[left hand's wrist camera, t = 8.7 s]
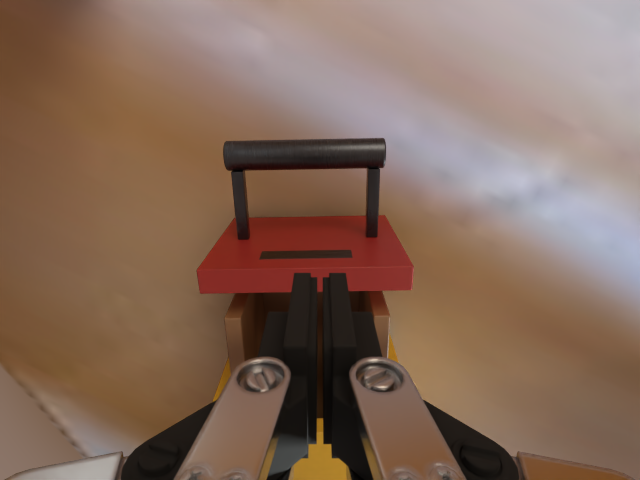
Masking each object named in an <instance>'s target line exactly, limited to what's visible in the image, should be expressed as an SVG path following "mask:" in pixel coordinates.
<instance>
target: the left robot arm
mask: <svg viewBox="0 0 640 480" xmlns="http://www.w3.org/2000/svg"><path fill="white" fill-rule="evenodd" d="M317 359H318V334H317V277H311V273H294V277H293V284H292V291H291V297H290V304H289V311H288V312H268V315H267V320H266V324H265V328H264V332H263V336H262V340H261V344H260V348H259V353H258V357H256V358H251V359H249V360H247V361H244V362H242V363H241V364H240V365H238V366H237V367H236V368H235V369H234V371H233V372H232V374H231V375H230V377H229V379H228V381H227V383H226V385H225V386H224V388H223V390H222V392H221V394H220V396H219V397H218V399H217V400H215V401H214V402H212V403H210V404H209V405H207V406H205V407H204V408H202V409H200V410H198V411H197V412H195V413H193V414H192V415H190V416H188V417H187V418H185V419H183V420H181V421H180V422H178V423H176V424H175V425H173V426H171V427H170V428H168V429H166V430H164V431H163V432H161V433H159V434H158V435H156V436H154V437H153V438H151V439H149V440H147V441H146V442H144V443H143V444H142V445H140V446H139V447H138V448H136V449H135V450H134V451H133V452H132V454H131V455H130V456H127V457H123V453H122V452H116V453H111V454H106V455H101V456H95V457H90V458H85V459H80V460H75V461H69V462H64V463H59V464H54V465H49V466H44V467H38V468H33V469H29V470H25V471H22V472H19V473H16V474H14V475H12V476H10V477H9V478H7V479H5V480H293V477H294V464H295V463H296V462H298V461H299V460H300V459H301V458H308V452H309V444H317ZM322 359H323V444H331V452H332V458H339V459H340V460H341V461H342V462H344V463H345V464H346V477H347V480H635V479H633V478H631V477H630V476H628V475H626V474H624V473H621V472H618V471H615V470H612V469H607V468H602V467H597V466H592V465H586V464H581V463H576V462H571V461H565V460H560V459H555V458H550V457H545V456H539V455H534V454H529V453H524V452H518V453H517V457H513V456H510V455H509V454H508V452H507V451H506V450H505V449H504V448H502V447H501V446H500V445H498V444H497V443H496V442H494V441H493V440H491V439H489V438H487V437H486V436H484V435H482V434H481V433H479V432H477V431H476V430H474V429H472V428H470V427H469V426H467V425H465V424H464V423H462V422H460V421H459V420H457V419H455V418H453V417H452V416H450V415H448V414H447V413H445V412H443V411H442V410H440V409H438V408H436V407H435V406H433V405H431V404H430V403H428V402H426V401H425V400H423V399H422V397H421V396H420V394H419V392H418V390H417V388H416V386H415V385H414V383H413V381H412V379H411V377H410V375H409V374H408V372H407V371H406V369H405V368H404V367H403V366H402V365H400V364H399V363H398V362H396V361H393V360H391V359H389V358H384V357H382V353H381V348H380V344H379V340H378V336H377V332H376V328H375V324H374V320H373V315H372V312H352V311H351V304H350V297H349V291H348V284H347V277H346V273H329V277H323V334H322Z"/></svg>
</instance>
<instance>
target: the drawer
mask: <svg viewBox="0 0 640 480" xmlns="http://www.w3.org/2000/svg"><path fill="white" fill-rule="evenodd" d="M223 157H224V163H225V167H226V169H227V170H228V171H232V172H231V176H232V186H233V196H234V206H235V216H236V218H234V219H233V221H232V222H231V223H230V225H229V226H228V228H227V229H226V230H225V232H224V233H223V235H222V236H221V237H220V239H219V240H218V241H217V243H216V244H215V246H214V247H213V248H212V250H211V251H210V252H209V254H208V255H207V257H206V258H205V259H204V261H203V262H202V264H201V265H200V266H199V268H198V269H197V276H198V283H199V290H200V293H201V294H203V293H235V295H234V298H233V300H232V302H231V304H230V307H229V309H228V311H227V314H226V316H225V318H224V322H225V330H226V338H227V347H228V355H229V363H230V371H231V374H232V372H233V371H234V369H235V368H236V367H237V366H238V365H240V364H241V363H242V362H244V361H247V360H249V359H251V358H256V357H258V353H259V348H260V344H261V340H262V336H263V332H264V328H265V324H266V320H267V315H268V312H288V311H289V304H290V297H291V291H292V284H293V277H294V273H311V277H317V334H318V359H317V418H323V359H322V334H323V277H329V273H346V277H347V284H348V291H349V297H350V304H351V311H352V312H372V315H373V320H374V324H375V328H376V332H377V336H378V340H379V344H380V348H381V353H382V357H384V358H388V350H389V331H390V314H389V311H388V308H387V305H386V302H385V299H384V296H383V293H382V291H384V290H412V284H413V270H414V266H413V264H412V263H411V261H410V259H409V257H408V256H407V254H406V252H405V250H404V248H403V247H402V245H401V243H400V241H399V240H398V238H397V236H396V234H395V232H394V231H393V229H392V227H391V225H390V224H389V222H388V220H387V218H386V216H385V215H381V216H378V210H379V182H380V169H379V168H383V167H384V165H385V160H386V143H385V139H384V138H364V139H311V140H258V141H226V142H225V143H224V148H223ZM353 168H367V186H366V216H325V217H269V218H249V214H248V202H247V190H246V179H245V170H299V169H353Z"/></svg>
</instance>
